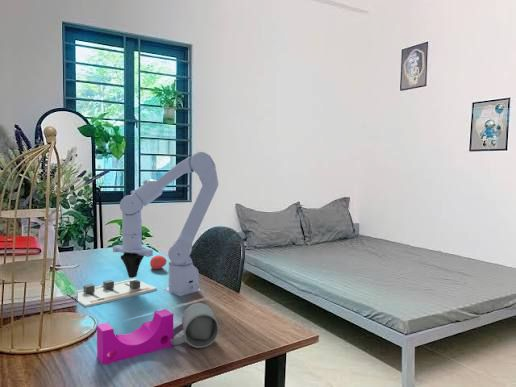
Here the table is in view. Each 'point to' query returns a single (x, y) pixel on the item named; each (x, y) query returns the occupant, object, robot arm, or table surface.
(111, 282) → the tab
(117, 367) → the table surface
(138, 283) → the tab
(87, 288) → the tab
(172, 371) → the table surface
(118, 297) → the switch panel
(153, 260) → the stress ball
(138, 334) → the toy block
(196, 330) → the ceramic mug
